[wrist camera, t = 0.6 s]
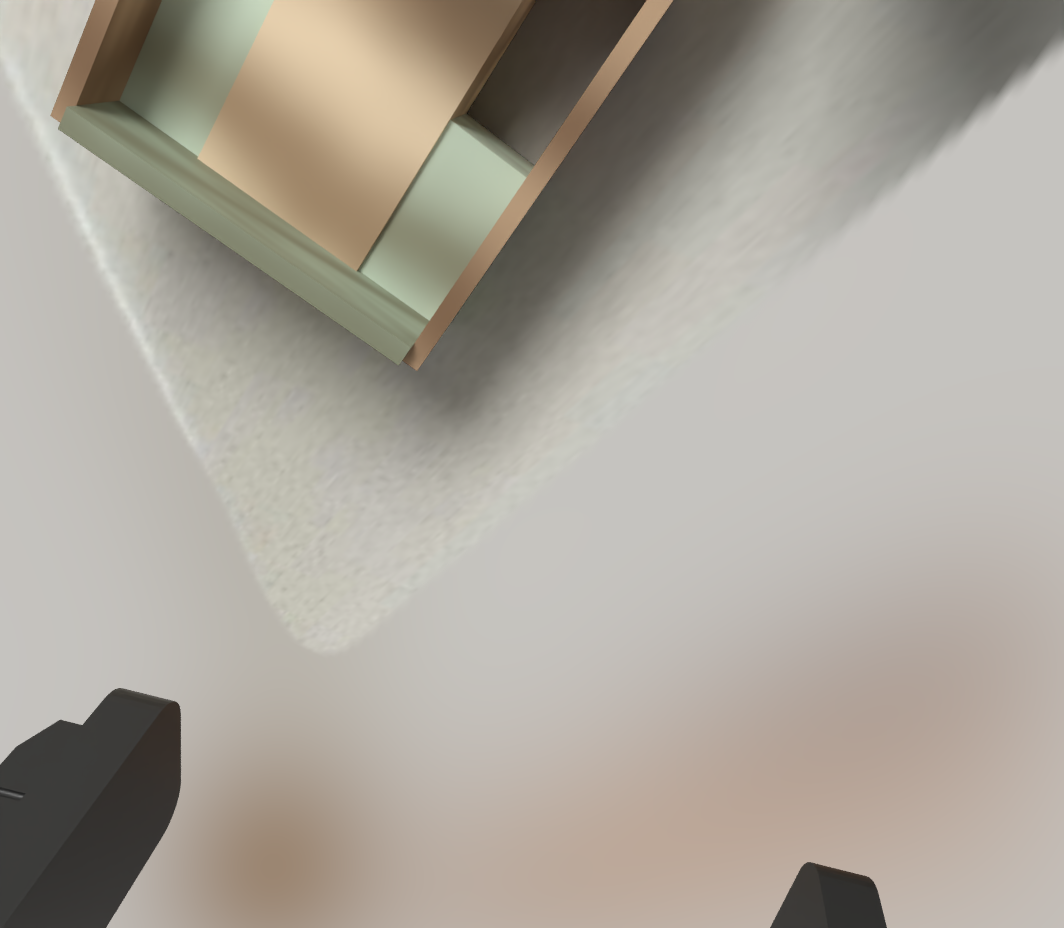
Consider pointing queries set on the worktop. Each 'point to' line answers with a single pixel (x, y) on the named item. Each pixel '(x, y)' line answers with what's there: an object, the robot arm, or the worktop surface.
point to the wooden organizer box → (327, 141)
